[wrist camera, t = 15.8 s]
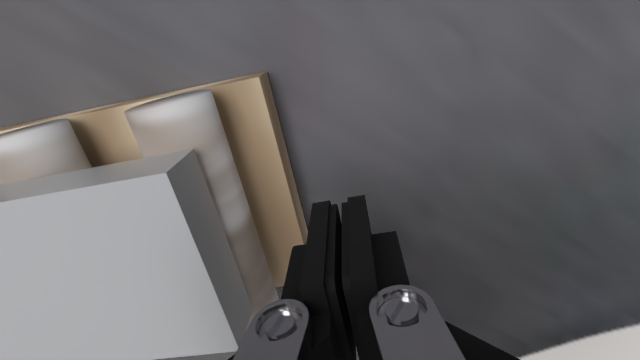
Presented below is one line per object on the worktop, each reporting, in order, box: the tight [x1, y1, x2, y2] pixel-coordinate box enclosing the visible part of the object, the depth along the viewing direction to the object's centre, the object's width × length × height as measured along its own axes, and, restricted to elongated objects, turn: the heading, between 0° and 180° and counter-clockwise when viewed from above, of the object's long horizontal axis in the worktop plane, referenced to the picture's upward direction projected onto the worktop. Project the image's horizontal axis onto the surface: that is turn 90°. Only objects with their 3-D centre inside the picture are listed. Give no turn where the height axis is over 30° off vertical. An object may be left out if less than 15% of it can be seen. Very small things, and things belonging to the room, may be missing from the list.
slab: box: [0, 149, 253, 360], centre depth 13 cm, size 16×7×2 cm, turn 102°
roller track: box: [0, 72, 308, 333], centre depth 17 cm, size 27×10×4 cm, turn 102°
